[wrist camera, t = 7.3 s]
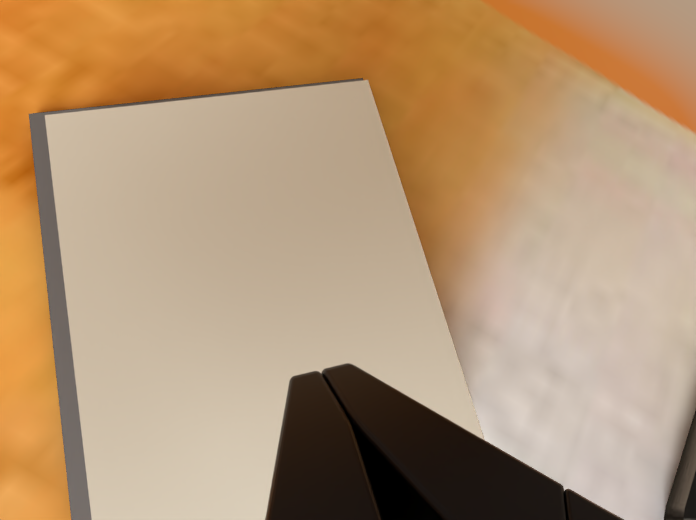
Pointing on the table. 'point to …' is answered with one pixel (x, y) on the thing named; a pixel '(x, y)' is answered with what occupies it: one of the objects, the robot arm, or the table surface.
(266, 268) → the cream flat block
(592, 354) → the table surface
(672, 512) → the phone
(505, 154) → the table surface
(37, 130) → the mat
